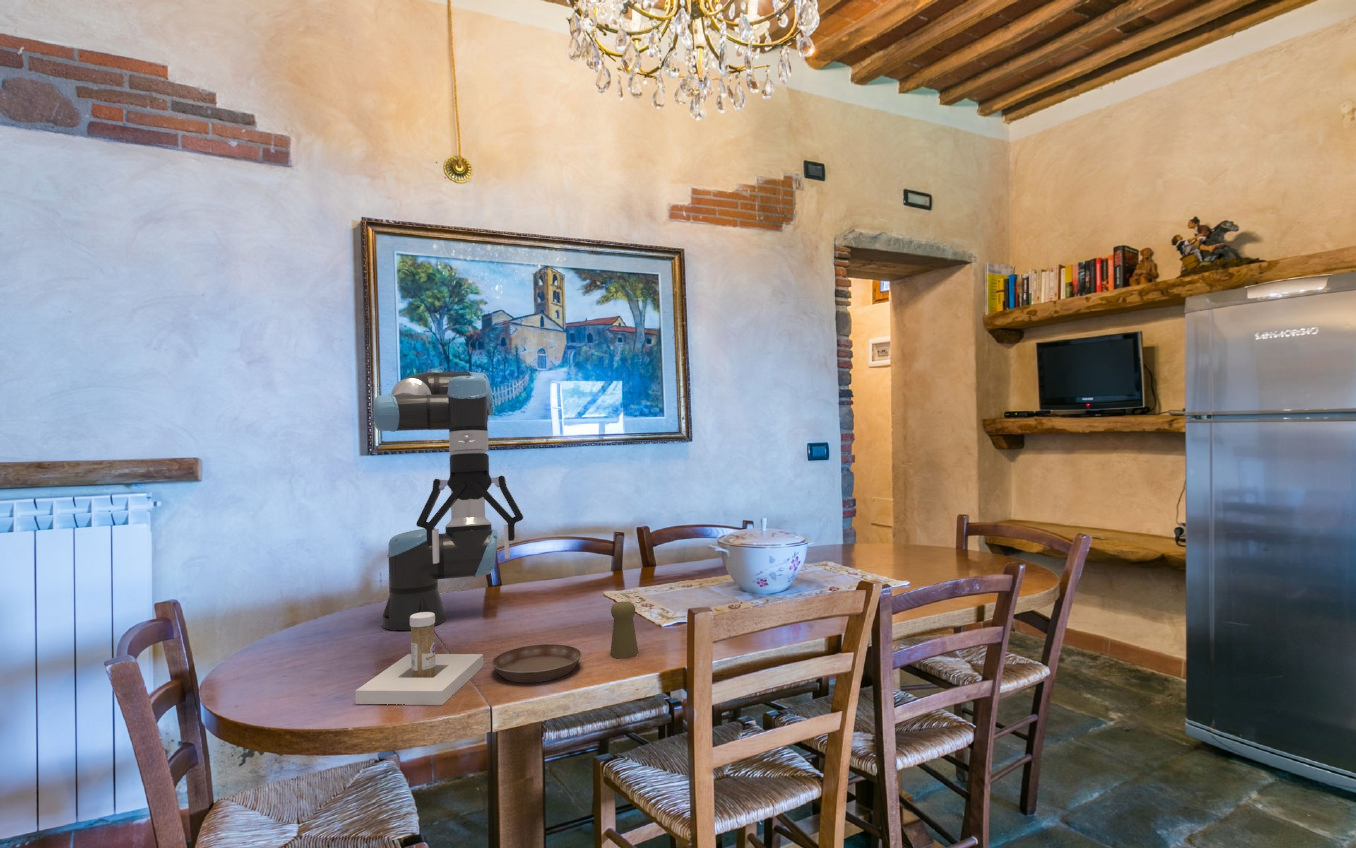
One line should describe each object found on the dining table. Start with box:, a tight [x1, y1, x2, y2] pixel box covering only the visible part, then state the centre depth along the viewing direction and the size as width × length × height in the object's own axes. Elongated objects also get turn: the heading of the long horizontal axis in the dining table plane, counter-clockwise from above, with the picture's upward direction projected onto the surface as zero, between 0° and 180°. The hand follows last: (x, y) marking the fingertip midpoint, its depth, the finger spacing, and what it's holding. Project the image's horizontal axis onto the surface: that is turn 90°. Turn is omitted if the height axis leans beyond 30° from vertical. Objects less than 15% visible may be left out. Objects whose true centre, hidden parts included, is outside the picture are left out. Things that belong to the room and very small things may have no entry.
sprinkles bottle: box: [410, 612, 436, 678], centre depth 134 cm, size 5×5×13 cm
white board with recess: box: [355, 653, 484, 706], centre depth 134 cm, size 20×16×2 cm
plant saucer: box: [491, 643, 583, 684], centre depth 140 cm, size 18×18×3 cm
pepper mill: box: [609, 600, 639, 660], centre depth 149 cm, size 6×6×11 cm
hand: (472, 560), depth 138 cm, fingers open, 13 cm apart
